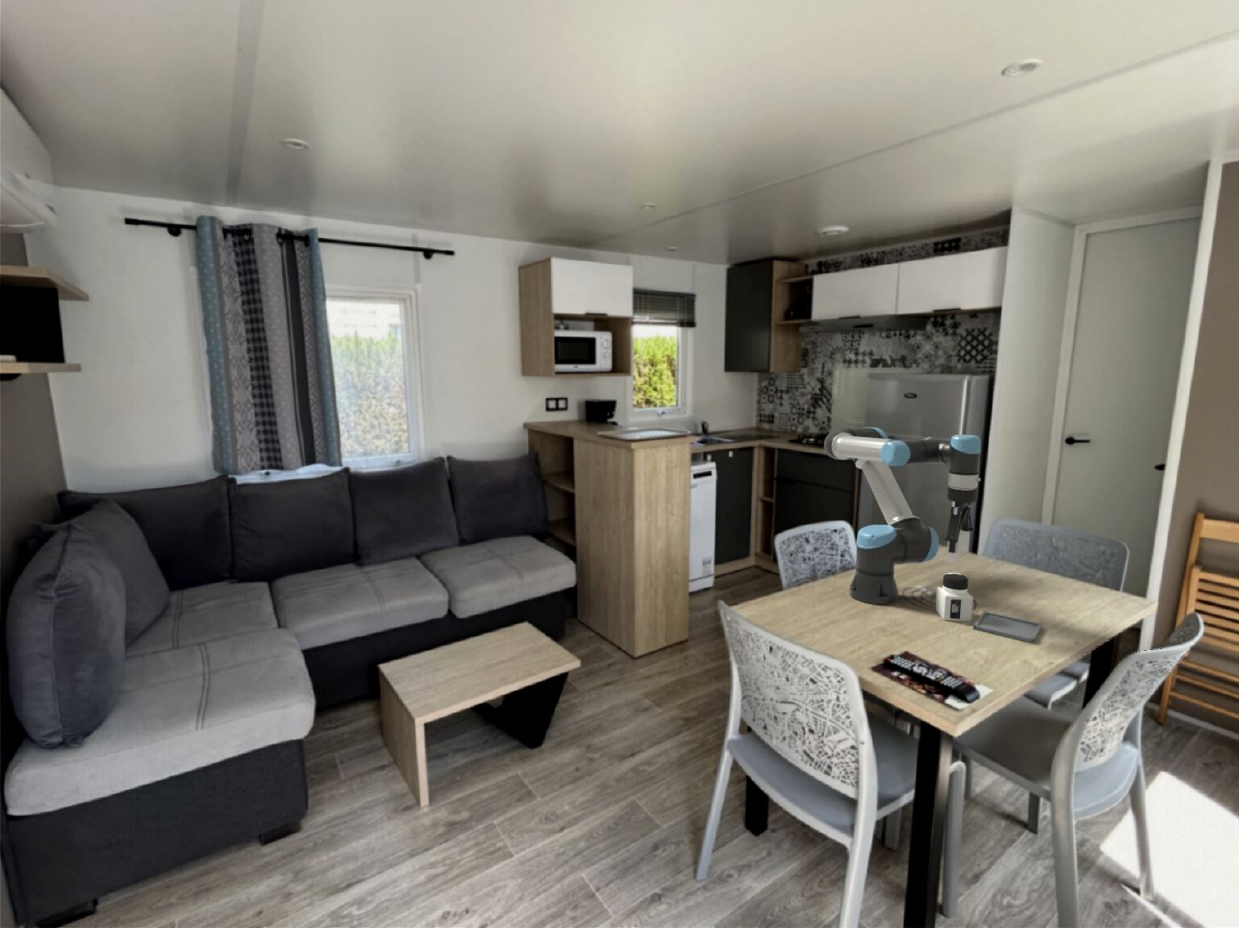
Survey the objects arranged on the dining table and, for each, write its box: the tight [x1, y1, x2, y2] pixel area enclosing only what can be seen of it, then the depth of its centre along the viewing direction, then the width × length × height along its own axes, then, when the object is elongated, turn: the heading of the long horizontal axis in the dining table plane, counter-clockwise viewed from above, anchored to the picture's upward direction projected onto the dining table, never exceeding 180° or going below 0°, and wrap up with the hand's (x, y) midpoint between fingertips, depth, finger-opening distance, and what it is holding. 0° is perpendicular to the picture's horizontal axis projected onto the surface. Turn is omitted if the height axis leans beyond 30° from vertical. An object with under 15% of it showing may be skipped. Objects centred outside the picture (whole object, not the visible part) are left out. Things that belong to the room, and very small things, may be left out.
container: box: [935, 572, 974, 622], centre depth 177 cm, size 8×8×13 cm
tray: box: [972, 610, 1043, 645], centre depth 169 cm, size 14×14×1 cm
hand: (957, 557), depth 176 cm, fingers open, 13 cm apart
